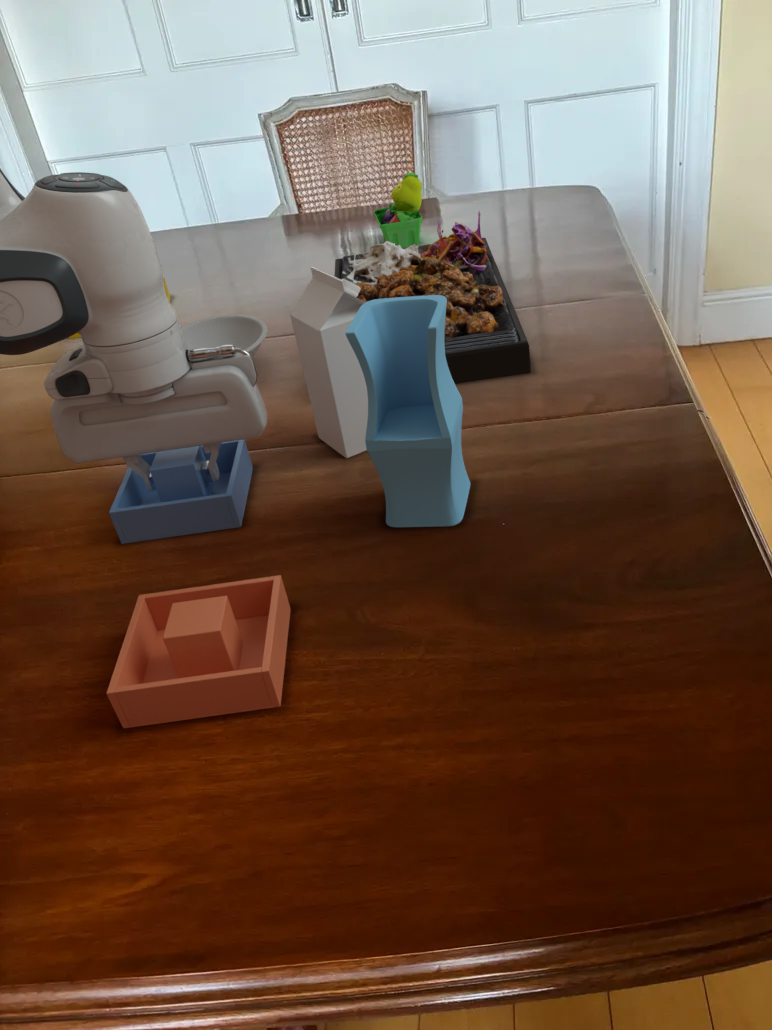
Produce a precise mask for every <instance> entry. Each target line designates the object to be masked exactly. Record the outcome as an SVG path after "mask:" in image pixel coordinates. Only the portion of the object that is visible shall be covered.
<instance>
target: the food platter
mask: <svg viewBox="0 0 772 1030" xmlns="http://www.w3.org/2000/svg"><path fill="white" fill-rule="evenodd" d="M477 214H478V218H477V220H478V221H477V227H476V230H474V231H473V230H472V229H471V228H470V227H468V226H467V225H465V224H464V223H462V222H461V223H460V222H457V221H456V222H455V221H454V225H453V226H452V228H451V231H452V233H451V234H449V235H448V236H446V235H445V236H444V235H443V233H444V229H442V227H441V221H440V220H437V227H436V228H437V229H436V230H437V231H436V233H437V235H438V238H439V239H437V240H436V241H434V242H432V243H429V244H422V245H416V246H415V244H413V245H412V246H409V247H405V248H401V246H400V245H397V246H395V243H394V244H393V243H390V242H389V241H384V242H383V243H376V244H373V245H372V244H370V246H369V252H365V253H358V254H356V253H354V254H350V255H345V256H342V258H336V259H335V261H334V275H333V276H334V277H336V278H339V279H345V280H347V281H349V282H351V283H353V284H355V285H357V286H359V287H360V288H361V289H360V292H359V293H358V296H357V297H356V298H358V299H360V300H362V301H363V302H368V301H370V300H374V299H383V298H397V297H411V296H426V295H442V296H445V297H446V298H447V306H446V316H445V331H444V345H445V356H446V361H447V365H448V368H449V371H450V374H451V376H452V379H453V381H454V383H455V385H456V384H464V383H470V382H477V381H484V380H491V379H498V378H505V377H512V376H521V375H526V374H531V373H532V368H531V353H530V351H531V350H530V344H529V341H528V338H527V337H526V333H525V332H524V328H523V326H522V323H521V322H520V319H519V316H518V313H517V312H516V310H515V306H514V304H513V302H512V300H511V297H510V295H509V292H508V289H507V287H506V284H505V283H504V280H503V278H502V275H501V272H500V270H499V268H498V265H497V263H496V261H495V260H496V259H495V257H494V255H493V253H492V251H491V249H490V246H489V243H488V240H487V238H486V237H482V234H481V210H479V211H478V213H477Z"/></svg>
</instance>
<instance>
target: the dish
mask: <svg viewBox="0 0 772 1030" xmlns="http://www.w3.org/2000/svg"><path fill="white" fill-rule="evenodd" d="M181 330H182V333H183V336H184V340H185V343H186V346H187V349H188V350H192V349H200V348H214V347H220V346H222V345H234V347H235V348H240V349H243V350H245V351H247V352H248V353H249V354H250V355H251V356H252V358H253V359H254V357H255V356H256V354H257V352H258V351H259V349H260V348H261V345H262V343H263V342H264V341H265V339H266V338H267V335H268V326H267V324H266V323H265V322H264V321H263V320H262V319H260V318H259V317H255V316H253V315H249V314H237V313H236V314H235V313H233V314H232V313H231V314H220V315H215V316H210V317H206V318H202V319H199V320H196V321H193V322H191V323H188V324H186V325H184V326H182V327H181ZM236 354H242V353H238V352H236Z"/></svg>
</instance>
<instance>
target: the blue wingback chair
mask: <svg viewBox="0 0 772 1030" xmlns="http://www.w3.org/2000/svg"><path fill="white" fill-rule="evenodd" d="M446 306H447V298H446V297H445V296H442V295H426V296H411V297H397V298H383V299H374V300H370V301H368V302H365V303H364V304H363V305H362V306H361V307H360V309H359V310H358V312H357V314H356V315H355V317H354V319H353V321H352V322H351V324H350V326H349V327H348V329H347V331H346V333H345V334H346V337H347V339H348V341H349V343H350V345H351V347H352V349H353V350H354V352H355V355H356V357H357V359H358V361H359V364H360V366H361V369H362V372H363V375H364V378H365V382H366V386H367V394H368V420H367V429H366V437H365V443H366V449H367V450H366V452H367V454H368V456H369V458H370V459H371V462H372V463H373V466H374V467H375V469H376V472H377V474H378V476H379V478H380V482H381V484H382V487H383V491H384V497H385V524H386V525H387V526H389V527H391V528H426V527H429V528H430V527H431V528H433V527H435V528H437V527H454V526H457V525H458V524H460V523H461V522H462V520H463V519H464V515H465V511H466V507H467V503H468V499H469V494H470V490H471V480H470V478H469V475H468V472H467V469H466V465H465V462H464V457H463V448H462V426H463V414H464V413H463V412H464V403H463V397H462V395H461V394H460V391H459V390H458V387H457V385H456V384H455V383H454V381H453V379H452V376H451V374H450V371H449V368H448V365H447V361H446V356H445V345H444V331H445V316H446Z"/></svg>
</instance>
